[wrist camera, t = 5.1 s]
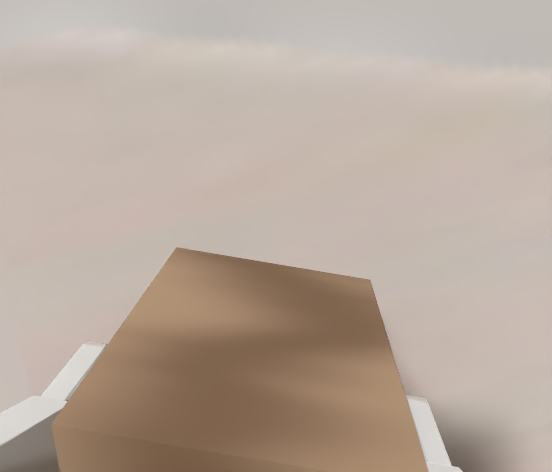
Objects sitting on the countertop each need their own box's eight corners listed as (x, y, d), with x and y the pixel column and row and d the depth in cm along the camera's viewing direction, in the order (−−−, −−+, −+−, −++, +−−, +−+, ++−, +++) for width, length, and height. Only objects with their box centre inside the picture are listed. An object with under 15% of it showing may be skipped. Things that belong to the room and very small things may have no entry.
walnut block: (370, 279, 9) (433, 488, 5) (328, 412, 11) (344, 642, 7) (176, 247, 9) (52, 424, 5) (172, 386, 11) (84, 599, 7)
